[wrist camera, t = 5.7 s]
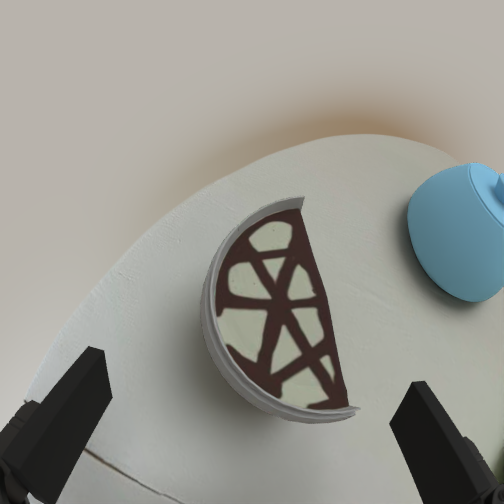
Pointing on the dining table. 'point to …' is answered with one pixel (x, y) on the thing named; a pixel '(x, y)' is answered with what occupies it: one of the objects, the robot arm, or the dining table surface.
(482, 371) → the dining table surface
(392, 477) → the dining table surface
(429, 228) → the sugar bowl
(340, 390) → the food container
